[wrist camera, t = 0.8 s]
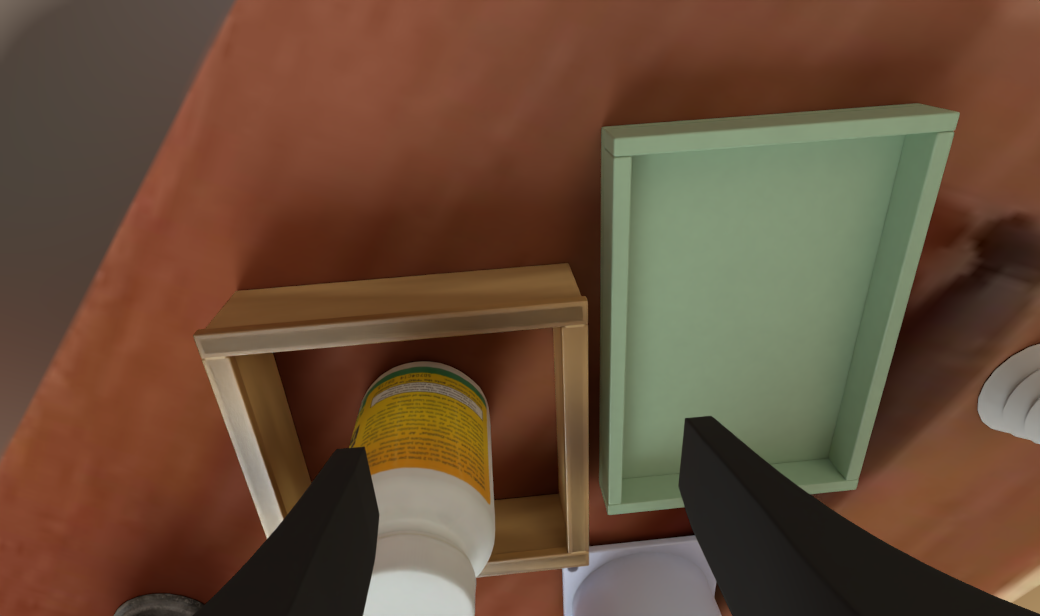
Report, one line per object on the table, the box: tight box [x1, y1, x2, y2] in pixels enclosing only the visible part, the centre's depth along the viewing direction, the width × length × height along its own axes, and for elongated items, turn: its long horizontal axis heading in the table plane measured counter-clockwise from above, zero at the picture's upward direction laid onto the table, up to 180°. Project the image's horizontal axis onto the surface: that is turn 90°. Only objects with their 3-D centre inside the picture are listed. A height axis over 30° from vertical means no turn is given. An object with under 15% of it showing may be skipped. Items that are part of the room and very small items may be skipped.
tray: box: [599, 103, 960, 515], centre depth 23 cm, size 16×11×2 cm
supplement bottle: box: [349, 361, 495, 616], centre depth 20 cm, size 5×5×10 cm
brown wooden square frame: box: [193, 263, 589, 578], centre depth 23 cm, size 13×13×4 cm
